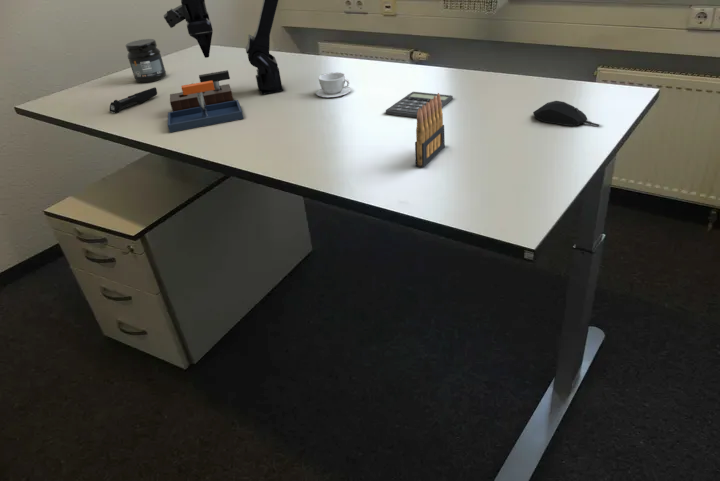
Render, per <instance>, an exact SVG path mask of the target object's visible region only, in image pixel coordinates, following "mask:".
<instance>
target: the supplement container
mask: <svg viewBox="0 0 720 481" xmlns="http://www.w3.org/2000/svg"><path fill="white" fill-rule="evenodd" d="M157 46H158V44H157V41H156V39H154V38H144V39H143V38H142V39H137V40H133V41H130V42H127V43H126V44H125V48H126V51H127V52H128V53H127V56H126V58H127V59H128V63H129V65H130V68H131V71H132V74H133V78H134V80H135V81H136V82H138V83H141V84H142V83H143V84H144V83H147V84H148V83H153V82H157V81H160V80H162V79H164V78H165V77H166V76H167V71H166V68H165V65H164V62H163V58H162V55H161V50H160V49H159V48H158V47H157Z"/></svg>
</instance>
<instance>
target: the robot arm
mask: <svg viewBox="0 0 720 481" xmlns="http://www.w3.org/2000/svg"><path fill="white" fill-rule="evenodd" d="M180 3H181V4H180V5H178V6H176V7H175V8H170V9H169V10H166V13H164V14H163V19H164V20H165V22H166V23H167V25H168V26H169V28H170V29H173V28H175V27H176V25H178V24H179V23H181V22H183V21H185V22H186V29H187V32H188V36H190V37H192V38H193V39H195V40H196V41H197V44H198V46H199V48H200V50H201V52H202V54H203V57H204V58H205V59H207V58H209V57H210V53H211V52H210V51H211V46H212V45H211V44H212V38H213V24H212V22H211V19H210V14H209V12H208V9H207V5H206V0H180ZM278 4H279V0H262V5H261V8H260V9H261V10H260V13H259V17H258V22H257V26H256V30H255V32H254V34H253V35H251V34H248V35H247V36H248V37H247V44H246V46H245V47H244V48H245V53H246V54H247V58H248V62H249V64H250V65H251V66H252V67H253V68H254V67H255V68H256V71H255V72H256V75H255V80H256V86H257V89H258V92H260V93H261V95H267V94H273V93H278V92H284V87H283V85H282V79H281V73H280V68H279V67H278V61H277V59H276V57H275V55H273V54H271V53H270V44H271V42H270V40H271V39H270V38H271V32H272V29H273V24H274V19H275V16H276V11H277V7H278Z"/></svg>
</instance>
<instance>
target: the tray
mask: <svg viewBox="0 0 720 481" xmlns="http://www.w3.org/2000/svg"><path fill="white" fill-rule="evenodd" d="M233 100H234V99H233ZM206 108H207V112H208V116H209V117H206V118H203V117H202V113H201V110H200V107H195V108H190V109H184V110H179V111H170V112H169V111H168V112H167V128H168V131H169V133H176V132H180V131H181V132H182V131H185V130H192V129H195V128H202V127H206V126H207V127H208V126H211V125H212V126H213V125H217V124H223V123H228V122H233V121H238V120H244V115H243V111H242V108H241V105H240V101H239V99H236V100H234V101H228V102H223V103H217V104H212V105H206Z"/></svg>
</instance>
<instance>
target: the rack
mask: <svg viewBox="0 0 720 481" xmlns="http://www.w3.org/2000/svg"><path fill="white" fill-rule="evenodd" d="M219 86H220V90H219V91H215V90H211V91H205V92H203V96H204V100H205V104H206V105H212V104H217V103H223V102H228V101H234V96H233V92H232V88H231V85H230V83H226V84H221V85H219ZM169 103H170V107H171V110H172V111H171V112H173V111H179V110H184V109H190V108H195V107H200V106H199V102H198V98H197V94H196V93H194V94H188V95H183V92H182V91H181V92H176V93H170V94H169Z"/></svg>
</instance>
